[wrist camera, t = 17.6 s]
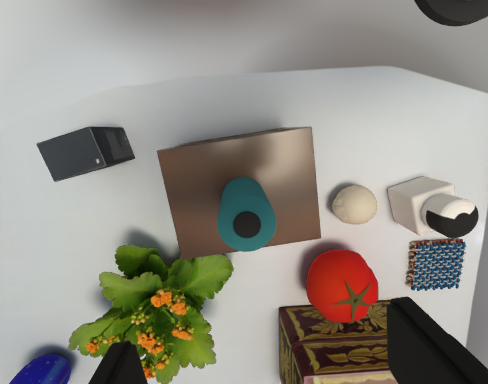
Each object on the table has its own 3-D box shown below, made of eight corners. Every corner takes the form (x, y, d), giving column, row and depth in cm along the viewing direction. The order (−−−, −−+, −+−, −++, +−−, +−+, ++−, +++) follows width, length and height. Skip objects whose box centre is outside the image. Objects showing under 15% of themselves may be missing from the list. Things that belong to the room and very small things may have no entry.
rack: (183, 143, 45) (156, 150, 29) (284, 127, 45) (311, 126, 29) (198, 218, 48) (182, 260, 33) (293, 203, 48) (321, 238, 33)
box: (123, 126, 44) (89, 125, 34) (136, 158, 45) (107, 166, 35) (80, 140, 44) (33, 143, 34) (94, 171, 45) (53, 183, 35)
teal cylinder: (218, 180, 30) (211, 201, 21) (261, 173, 30) (273, 192, 21) (225, 221, 32) (222, 257, 23) (267, 214, 32) (280, 248, 23)
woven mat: (461, 236, 51) (470, 240, 49) (453, 283, 54) (461, 288, 52) (409, 239, 51) (416, 243, 49) (404, 286, 53) (411, 292, 51)
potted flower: (217, 347, 55) (209, 444, 38) (104, 335, 53) (44, 430, 36) (236, 241, 50) (237, 299, 33) (111, 223, 48) (43, 274, 31)
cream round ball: (322, 190, 48) (336, 200, 41) (360, 177, 48) (380, 184, 41) (332, 222, 49) (346, 236, 43) (368, 209, 49) (388, 221, 43)
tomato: (358, 295, 54) (387, 335, 43) (299, 299, 53) (315, 340, 43) (362, 236, 50) (395, 264, 40) (300, 240, 50) (317, 269, 40)
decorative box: (279, 377, 58) (294, 461, 43) (278, 306, 53) (295, 372, 39) (399, 369, 59) (453, 448, 44) (408, 298, 54) (472, 360, 40)
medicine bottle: (429, 209, 50) (489, 234, 38) (393, 221, 50) (442, 249, 38) (423, 175, 48) (483, 190, 36) (386, 188, 48) (434, 206, 37)
